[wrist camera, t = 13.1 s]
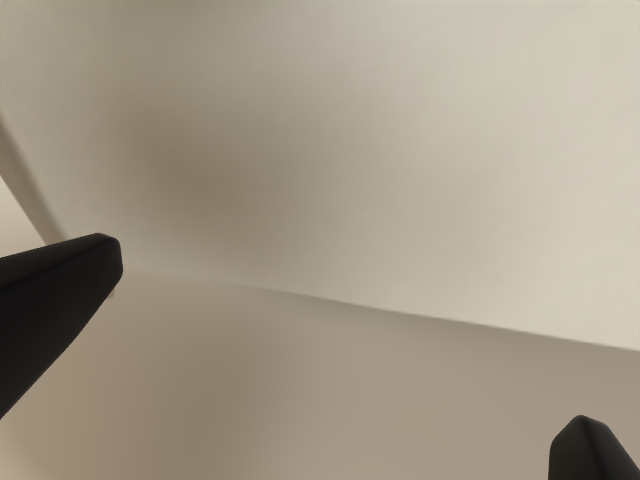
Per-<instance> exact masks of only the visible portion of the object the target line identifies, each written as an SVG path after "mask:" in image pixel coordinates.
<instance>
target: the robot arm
mask: <svg viewBox="0 0 640 480" xmlns="http://www.w3.org/2000/svg"><path fill="white" fill-rule="evenodd" d="M122 273H123V264H122V255H121V247H120V243H119V241H118V240H117V239H116V238H113V237H110V236H108V235H105V234H102V233H94V234H90V235H87V236H83V237H79V238H75V239H71V240H67V241H63V242H60V243H56V244H52V245H48V246H44V247H40V248H36V249H33V250H29V251H25V252H21V253H17V254H13V255H9V256H6V257H2V258H0V420H1V418H2V417H3V416H4V415H5V414H6V413H7V412H8V411H9V410H10V409H11V408H12V407H13V405H14V404H15V403H16V402H17V401H18V400H19V399H20V398H21V397H22V396H23V395H24V394H25V393H26V391H27V390H28V389H29V388H30V387H31V386H32V385H33V384H34V383H35V382H36V381H37V380H38V379H39V377H40V376H41V375H42V374H43V373H44V372H45V371H46V370H47V369H48V368H49V367H50V366H51V365H52V364H53V362H54V361H55V360H56V359H57V358H58V357H59V356H60V355H61V354H62V353H63V352H64V351H65V350H66V348H67V347H68V346H69V345H70V344H71V343H72V342H73V340H74V339H75V338H76V337H77V336H78V334H79V333H80V332H81V331H82V329H83V328H84V327H85V325H86V324H87V323H88V321H89V320H90V319H91V318H92V316H93V315H94V314H95V312H96V311H97V310H98V308H99V307H100V306H101V304H102V303H103V302H104V300H105V299H106V298H107V297H108V295H109V294H110V293H111V291H112V290H113V289H114V287H115V286H116V284H117V283H118V282H119V280H120V279H121V276H122ZM548 480H640V470H639V469H638V467H637V466H636V465H635V463H634V462H633V461H632V459H631V458H630V456H629V455H628V453H627V452H626V451H625V449H624V448H623V446H622V445H621V444H620V442H619V441H618V439H617V438H616V437H615V435H614V434H613V433H612V431H611V430H610V429H609V427H608V426H607V425H605V424H604V423H602V422H599V421H597V420H594V419H592V418H589V417H586V416H584V415H578V416H576V417H575V418H573V419H572V420H571V421H570V422H569V423H568V425H567V426H566V427H565V428H564V429H563V430H562V431H561V432H560V433H559V434H558V435H557V436H556V437H555V439H554V440H553V442H552V444H551V448H550V456H549V472H548Z"/></svg>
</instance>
